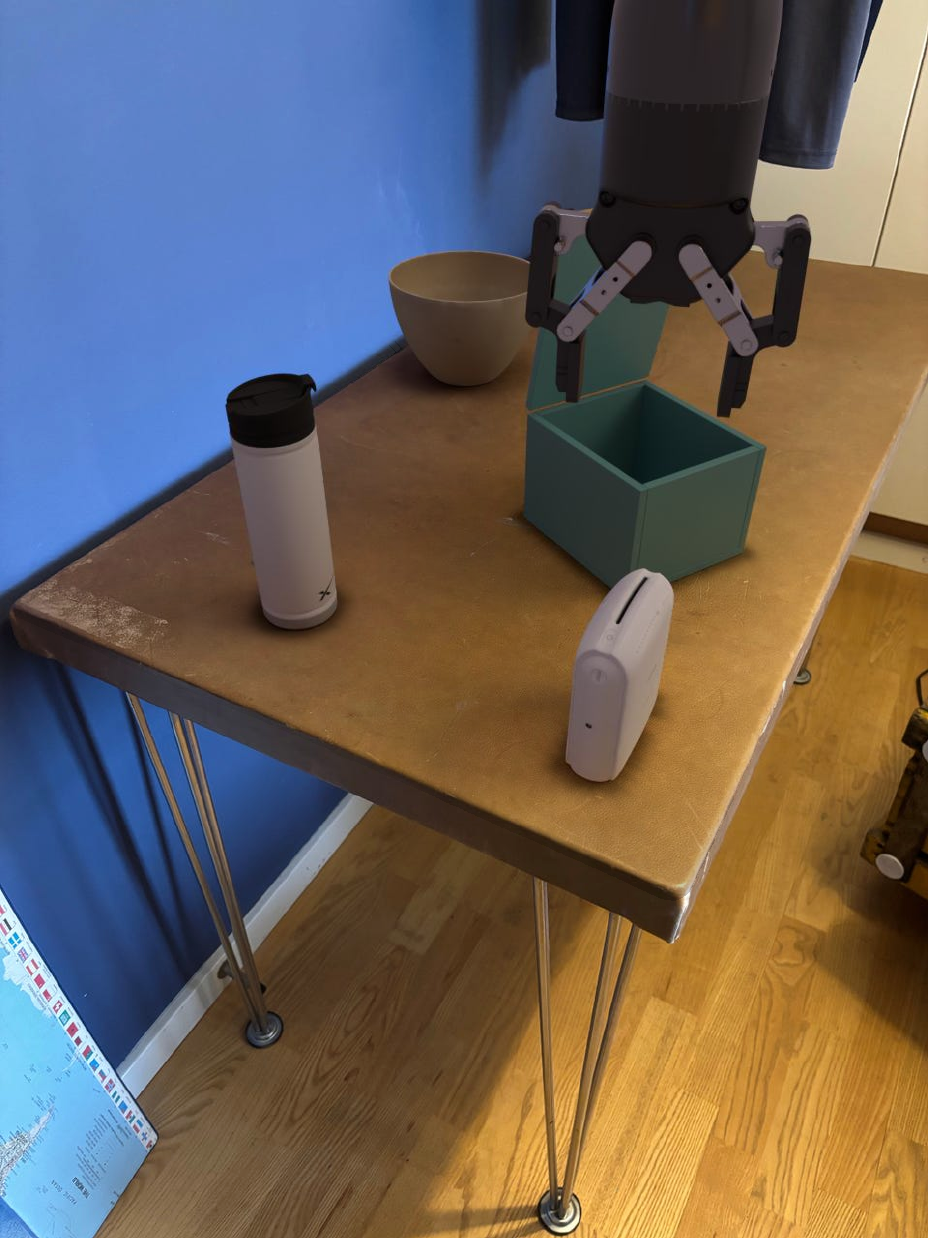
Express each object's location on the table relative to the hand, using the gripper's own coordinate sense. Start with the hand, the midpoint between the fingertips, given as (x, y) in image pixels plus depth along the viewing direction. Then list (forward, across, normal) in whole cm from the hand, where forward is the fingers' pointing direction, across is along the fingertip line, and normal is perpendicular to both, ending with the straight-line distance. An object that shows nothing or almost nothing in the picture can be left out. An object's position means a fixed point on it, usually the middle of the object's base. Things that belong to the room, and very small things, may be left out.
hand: (647, 404), depth 52 cm
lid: (+5, -5, +27) cm, 28 cm away
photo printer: (+24, 0, -3) cm, 24 cm away
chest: (+24, -1, +23) cm, 33 cm away
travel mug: (+24, -27, +6) cm, 36 cm away
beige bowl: (+24, -24, +55) cm, 65 cm away
